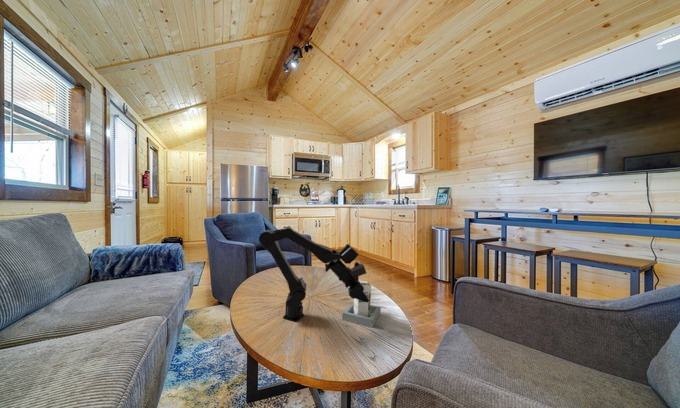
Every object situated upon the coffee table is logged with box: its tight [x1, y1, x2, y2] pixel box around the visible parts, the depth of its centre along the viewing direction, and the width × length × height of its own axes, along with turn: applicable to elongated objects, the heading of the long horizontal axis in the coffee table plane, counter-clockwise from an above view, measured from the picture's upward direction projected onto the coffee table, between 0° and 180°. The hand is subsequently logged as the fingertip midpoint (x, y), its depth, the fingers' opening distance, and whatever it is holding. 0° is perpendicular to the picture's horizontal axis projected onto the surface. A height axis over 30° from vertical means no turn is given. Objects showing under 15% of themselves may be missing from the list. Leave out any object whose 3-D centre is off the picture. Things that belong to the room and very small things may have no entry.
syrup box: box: [352, 281, 372, 317], centre depth 105 cm, size 6×6×14 cm
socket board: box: [341, 300, 382, 328], centre depth 105 cm, size 13×13×3 cm
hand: (366, 297), depth 105 cm, fingers open, 9 cm apart
